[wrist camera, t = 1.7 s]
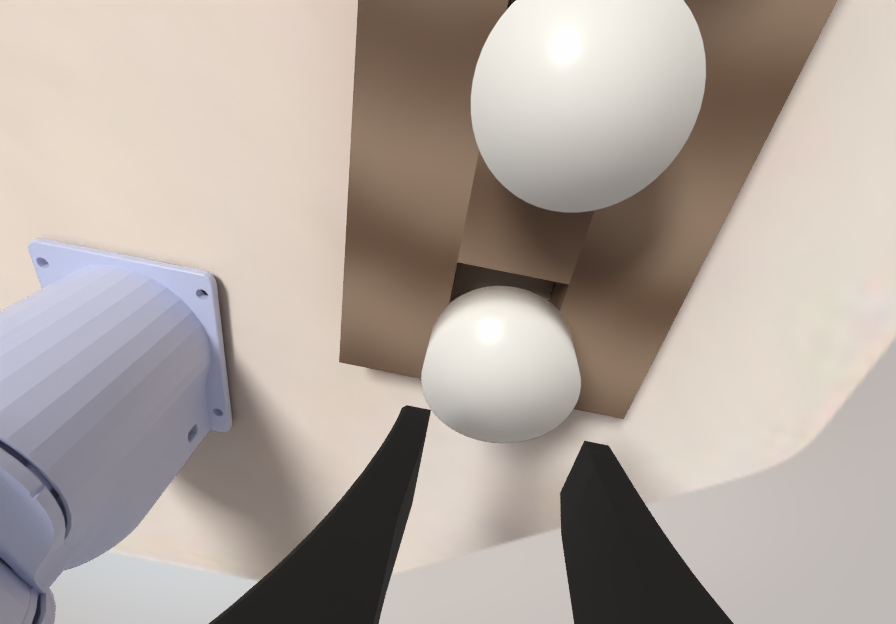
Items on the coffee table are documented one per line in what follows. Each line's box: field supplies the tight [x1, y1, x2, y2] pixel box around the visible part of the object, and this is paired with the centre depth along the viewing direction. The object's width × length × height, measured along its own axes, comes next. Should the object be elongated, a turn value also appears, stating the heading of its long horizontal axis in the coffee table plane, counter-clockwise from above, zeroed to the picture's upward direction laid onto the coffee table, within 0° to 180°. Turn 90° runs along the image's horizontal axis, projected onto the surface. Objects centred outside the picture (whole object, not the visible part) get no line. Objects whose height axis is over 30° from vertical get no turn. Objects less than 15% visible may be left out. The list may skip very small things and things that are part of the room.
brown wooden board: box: [339, 0, 837, 419], centre depth 14 cm, size 23×12×2 cm, turn 170°
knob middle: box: [471, 0, 706, 213], centre depth 11 cm, size 5×5×4 cm
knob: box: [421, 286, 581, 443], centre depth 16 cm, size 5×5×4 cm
